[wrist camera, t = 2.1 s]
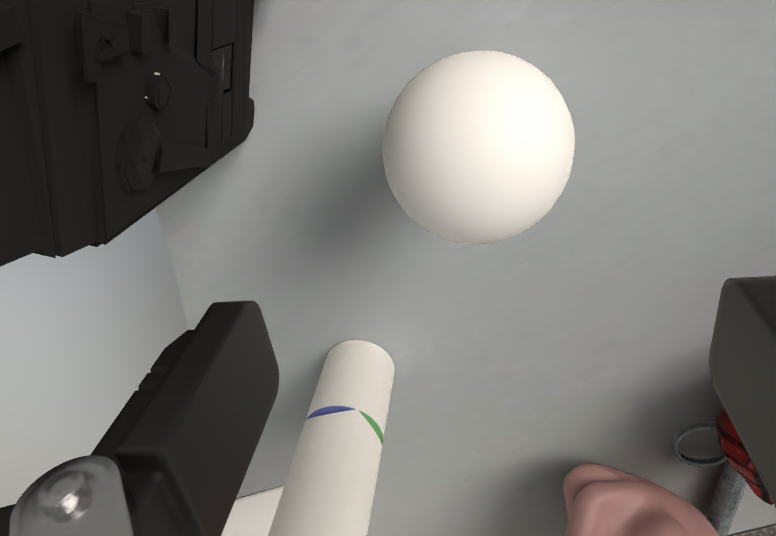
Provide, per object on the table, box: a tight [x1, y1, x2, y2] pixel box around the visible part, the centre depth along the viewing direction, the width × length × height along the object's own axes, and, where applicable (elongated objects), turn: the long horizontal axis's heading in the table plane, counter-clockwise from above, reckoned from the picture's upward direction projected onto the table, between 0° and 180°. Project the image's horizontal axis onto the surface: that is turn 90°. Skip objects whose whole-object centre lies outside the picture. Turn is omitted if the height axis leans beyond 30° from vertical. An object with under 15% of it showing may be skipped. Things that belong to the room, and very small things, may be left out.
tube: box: [268, 340, 395, 536], centre depth 29 cm, size 4×4×15 cm
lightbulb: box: [382, 50, 575, 244], centre depth 21 cm, size 6×6×11 cm
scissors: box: [673, 422, 747, 536], centre depth 34 cm, size 8×18×2 cm, turn 4°
